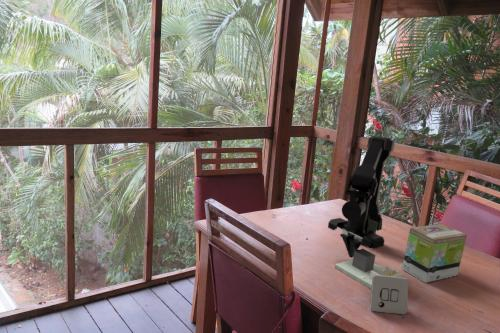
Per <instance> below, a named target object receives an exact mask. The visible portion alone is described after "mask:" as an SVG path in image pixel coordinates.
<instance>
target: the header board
mask: <svg viewBox="0 0 500 333" xmlns="http://www.w3.org/2000/svg"><path fill="white" fill-rule="evenodd" d="M352 263H353V258H352V259H348V260H346V261H345V260H344V261H341V262H338V263H335V264H334V268H335V269H336V270H337V271H340V272H342V273H343V274H345V275H346V276H348V277H350V278H351V279H353V280H355V281H356V282H358V283H360V284H361V285H363V286H365V287H367V288H369V289H370V290H371V288H372V276H373V275H383V276H393V277H402V278H404V277H403V276H404V274H403V273H402V272H400V271H398V270H397V269H395V268H393V267H390V266H388V265H386V266H385V267H383V266H381V265H379V264H377V263H375V262H374V267H373V270H370V271H367V272H363V271H361V270H360V269H358V268H356V267H354V266H352Z"/></svg>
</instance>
